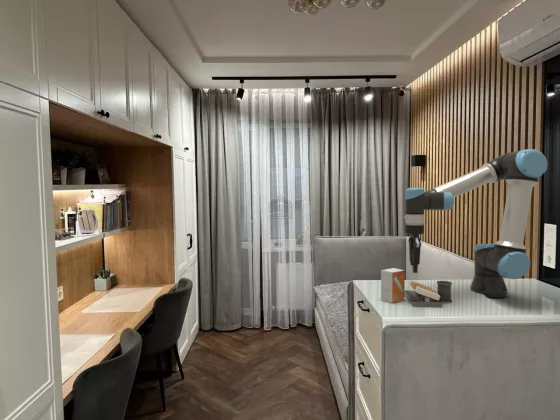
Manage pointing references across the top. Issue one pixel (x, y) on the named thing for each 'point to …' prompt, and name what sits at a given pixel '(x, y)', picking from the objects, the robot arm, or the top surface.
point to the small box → (392, 285)
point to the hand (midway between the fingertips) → (414, 279)
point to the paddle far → (418, 284)
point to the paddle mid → (421, 287)
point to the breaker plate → (421, 300)
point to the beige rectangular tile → (427, 293)
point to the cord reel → (444, 291)
